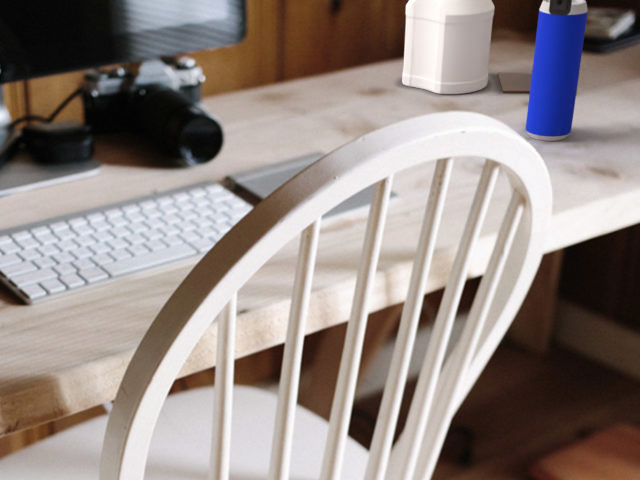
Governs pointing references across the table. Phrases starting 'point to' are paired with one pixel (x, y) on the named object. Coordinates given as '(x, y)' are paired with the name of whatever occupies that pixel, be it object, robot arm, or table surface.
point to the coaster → (515, 82)
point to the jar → (447, 45)
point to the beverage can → (555, 72)
